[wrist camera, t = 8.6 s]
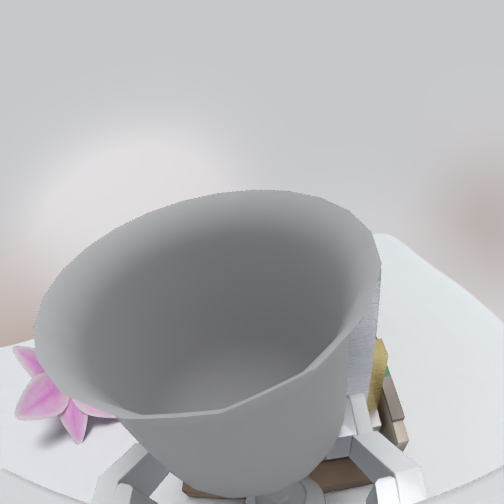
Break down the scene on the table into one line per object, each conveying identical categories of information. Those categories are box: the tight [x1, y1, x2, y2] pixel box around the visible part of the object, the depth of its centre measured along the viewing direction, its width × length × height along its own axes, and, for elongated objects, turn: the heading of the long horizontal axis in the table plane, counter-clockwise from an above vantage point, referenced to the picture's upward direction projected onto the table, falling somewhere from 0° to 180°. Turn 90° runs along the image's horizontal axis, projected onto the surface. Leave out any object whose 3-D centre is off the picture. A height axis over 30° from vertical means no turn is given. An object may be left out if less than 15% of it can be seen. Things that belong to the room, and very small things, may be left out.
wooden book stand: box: [182, 337, 409, 498], centre depth 22 cm, size 14×20×12 cm
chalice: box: [34, 190, 381, 504], centre depth 10 cm, size 7×7×18 cm
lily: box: [12, 346, 116, 444], centre depth 24 cm, size 12×12×10 cm
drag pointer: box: [367, 339, 388, 411], centre depth 16 cm, size 1×1×9 cm
